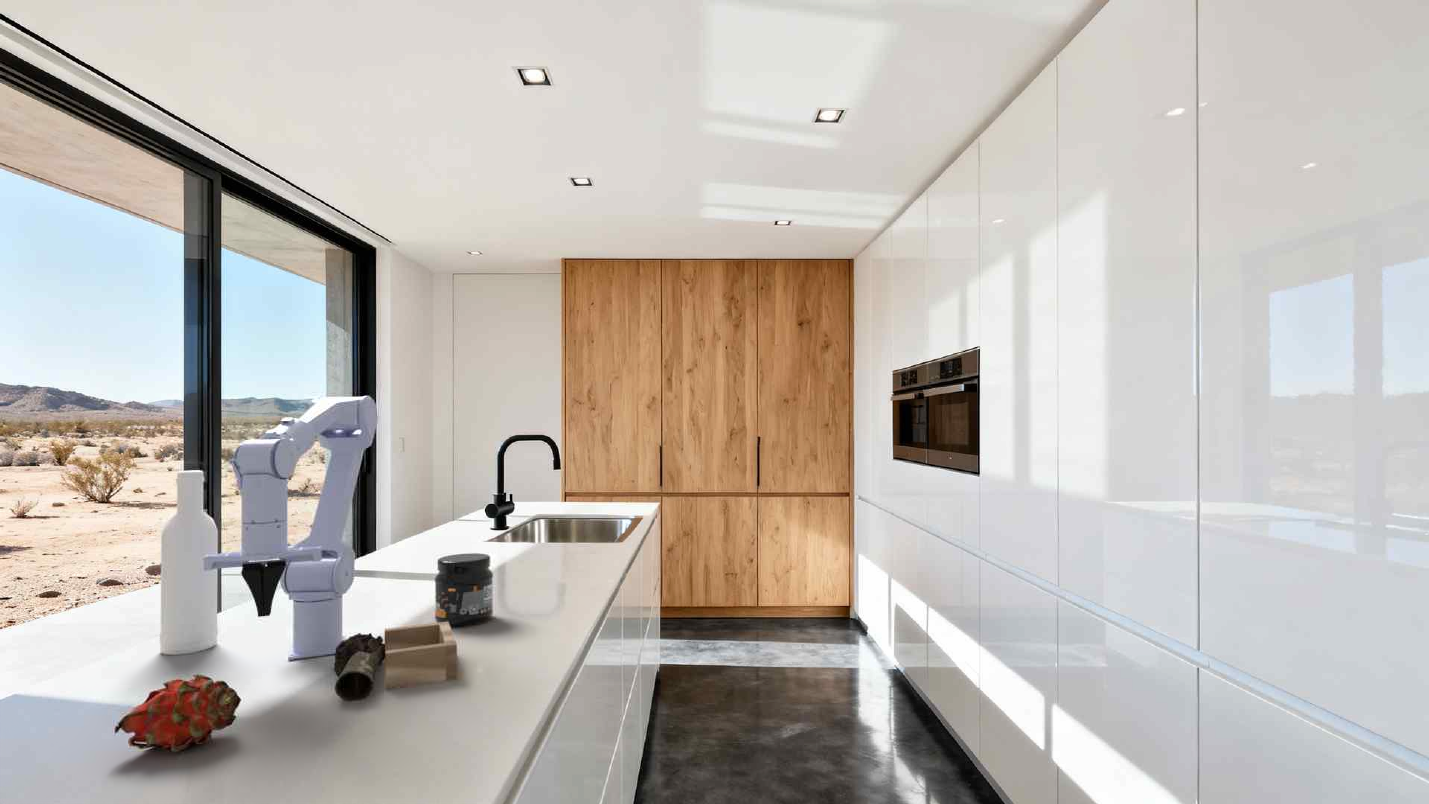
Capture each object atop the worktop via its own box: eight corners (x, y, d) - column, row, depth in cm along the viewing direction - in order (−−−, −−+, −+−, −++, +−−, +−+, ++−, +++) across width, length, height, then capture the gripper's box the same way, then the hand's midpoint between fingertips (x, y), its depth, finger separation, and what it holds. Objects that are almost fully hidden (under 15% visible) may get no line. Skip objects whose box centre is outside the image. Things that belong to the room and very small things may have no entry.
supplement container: (432, 617, 141) (432, 555, 141) (489, 611, 145) (488, 550, 146) (436, 631, 131) (436, 564, 132) (497, 624, 136) (496, 559, 136)
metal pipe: (373, 701, 99) (373, 659, 99) (318, 707, 97) (318, 665, 97) (389, 660, 116) (388, 624, 116) (342, 665, 114) (342, 629, 114)
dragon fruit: (249, 748, 88) (124, 789, 82) (245, 690, 94) (128, 724, 88) (237, 706, 83) (103, 747, 77) (234, 648, 89) (109, 681, 83)
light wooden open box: (384, 660, 115) (384, 628, 115) (448, 652, 119) (448, 621, 119) (385, 689, 102) (385, 653, 103) (456, 678, 106) (456, 644, 107)
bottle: (206, 638, 129) (207, 469, 130) (225, 645, 124) (226, 470, 125) (152, 650, 122) (153, 471, 123) (170, 658, 118) (171, 473, 119)
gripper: (199, 528, 100) (198, 628, 99) (319, 520, 106) (319, 615, 105) (209, 522, 106) (209, 616, 106) (322, 515, 112) (322, 604, 112)
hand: (264, 614), depth 106 cm, fingers closed
